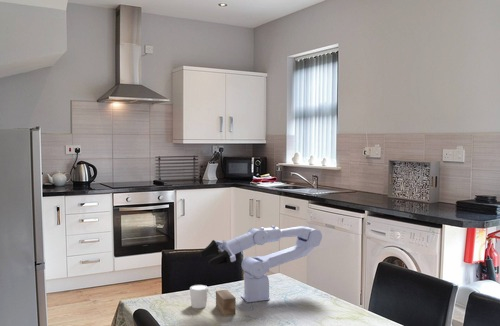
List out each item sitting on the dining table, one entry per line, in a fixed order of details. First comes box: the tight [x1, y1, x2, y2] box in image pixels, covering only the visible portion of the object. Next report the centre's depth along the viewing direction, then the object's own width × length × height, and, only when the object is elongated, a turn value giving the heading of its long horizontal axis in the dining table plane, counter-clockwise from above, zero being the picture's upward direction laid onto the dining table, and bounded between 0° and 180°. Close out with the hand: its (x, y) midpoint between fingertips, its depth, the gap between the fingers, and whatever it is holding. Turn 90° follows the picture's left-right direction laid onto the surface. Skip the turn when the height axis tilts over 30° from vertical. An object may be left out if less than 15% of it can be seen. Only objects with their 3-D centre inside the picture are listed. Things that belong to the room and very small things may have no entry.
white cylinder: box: [189, 284, 209, 309], centre depth 169 cm, size 7×7×7 cm
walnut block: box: [215, 289, 237, 317], centre depth 164 cm, size 4×10×6 cm, turn 20°
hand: (205, 259), depth 167 cm, fingers open, 7 cm apart
